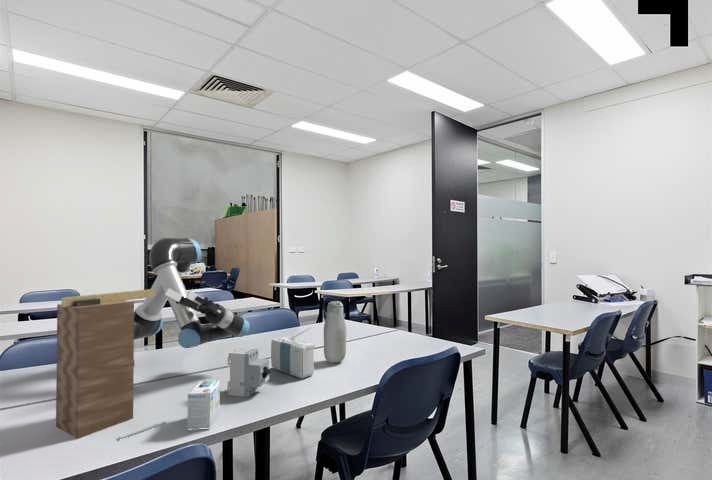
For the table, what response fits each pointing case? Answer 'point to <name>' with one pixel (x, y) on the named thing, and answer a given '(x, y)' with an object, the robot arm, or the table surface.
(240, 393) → the circuit breaker
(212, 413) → the light bulb box
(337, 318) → the grey water bottle
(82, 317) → the walnut stand
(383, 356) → the table surface
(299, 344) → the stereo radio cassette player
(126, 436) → the ruler
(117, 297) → the light wood bar
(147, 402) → the table surface
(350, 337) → the table surface
